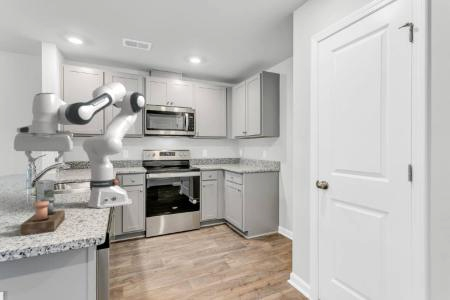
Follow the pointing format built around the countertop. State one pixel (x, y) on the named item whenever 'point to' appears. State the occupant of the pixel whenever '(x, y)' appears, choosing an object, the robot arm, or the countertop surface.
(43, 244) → the countertop surface
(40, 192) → the syrup box
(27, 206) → the countertop surface
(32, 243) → the countertop surface
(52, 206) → the grey plug
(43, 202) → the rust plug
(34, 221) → the wooden frame holder
